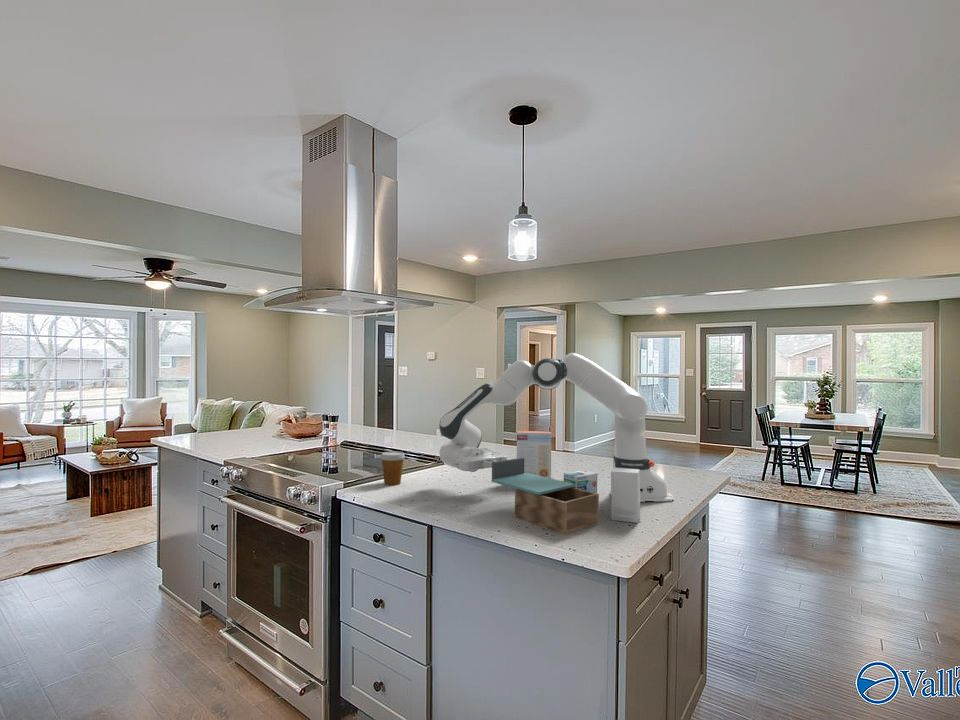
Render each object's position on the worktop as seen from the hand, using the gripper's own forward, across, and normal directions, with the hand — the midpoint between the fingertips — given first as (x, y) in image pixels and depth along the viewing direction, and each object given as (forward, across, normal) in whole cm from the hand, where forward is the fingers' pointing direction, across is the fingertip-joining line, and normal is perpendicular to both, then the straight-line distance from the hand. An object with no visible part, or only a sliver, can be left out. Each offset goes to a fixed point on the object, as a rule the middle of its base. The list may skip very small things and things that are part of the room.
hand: (496, 465), depth 177 cm
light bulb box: (+20, +21, +13) cm, 32 cm away
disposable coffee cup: (-44, -15, +13) cm, 48 cm away
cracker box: (-11, +31, +13) cm, 35 cm away
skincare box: (+40, +18, +13) cm, 46 cm away
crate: (+27, 0, +13) cm, 30 cm away
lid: (+16, 0, +3) cm, 17 cm away
